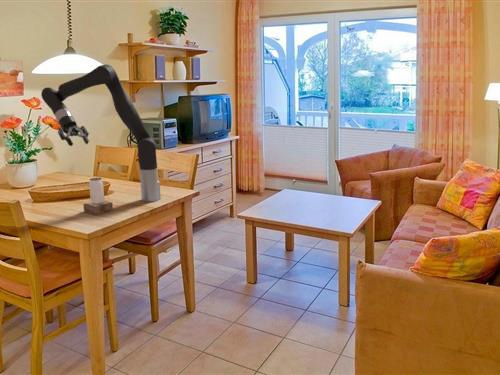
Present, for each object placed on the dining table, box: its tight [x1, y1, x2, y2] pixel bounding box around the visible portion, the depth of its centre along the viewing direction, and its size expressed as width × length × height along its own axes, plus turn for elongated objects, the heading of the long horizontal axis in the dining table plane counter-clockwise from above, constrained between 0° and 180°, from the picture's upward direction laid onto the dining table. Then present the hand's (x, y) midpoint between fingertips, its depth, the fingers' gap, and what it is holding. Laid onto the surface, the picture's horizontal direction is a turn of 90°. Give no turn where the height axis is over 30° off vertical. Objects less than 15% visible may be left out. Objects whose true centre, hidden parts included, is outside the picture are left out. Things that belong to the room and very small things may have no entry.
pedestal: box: [83, 200, 114, 216], centre depth 240 cm, size 10×10×4 cm
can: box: [88, 177, 105, 204], centre depth 238 cm, size 6×6×12 cm
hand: (79, 144), depth 240 cm, fingers open, 8 cm apart
